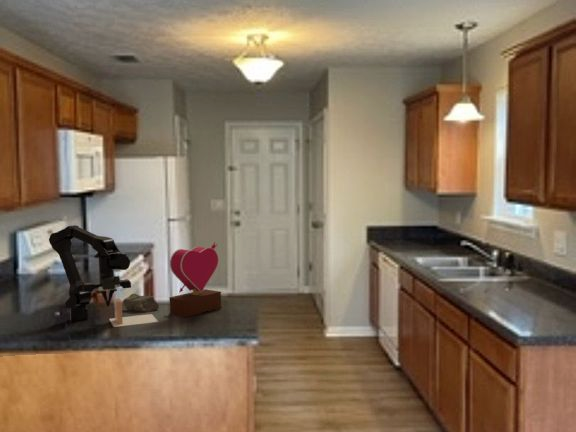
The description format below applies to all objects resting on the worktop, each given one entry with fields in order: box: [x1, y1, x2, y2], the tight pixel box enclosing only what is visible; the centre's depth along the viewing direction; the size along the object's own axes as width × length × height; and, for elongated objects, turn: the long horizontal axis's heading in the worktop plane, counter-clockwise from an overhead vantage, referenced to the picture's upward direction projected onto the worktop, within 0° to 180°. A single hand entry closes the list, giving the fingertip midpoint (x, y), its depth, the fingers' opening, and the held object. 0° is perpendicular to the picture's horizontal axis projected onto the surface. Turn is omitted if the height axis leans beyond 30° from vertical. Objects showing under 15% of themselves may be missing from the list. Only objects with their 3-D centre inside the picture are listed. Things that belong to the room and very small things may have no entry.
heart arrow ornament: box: [168, 242, 223, 318], centre depth 270 cm, size 25×10×30 cm, turn 141°
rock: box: [122, 293, 160, 313], centre depth 273 cm, size 17×7×10 cm
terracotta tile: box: [113, 298, 123, 324], centre depth 251 cm, size 2×8×9 cm, turn 23°
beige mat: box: [108, 313, 159, 328], centre depth 254 cm, size 18×15×1 cm
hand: (107, 306), depth 249 cm, fingers closed
